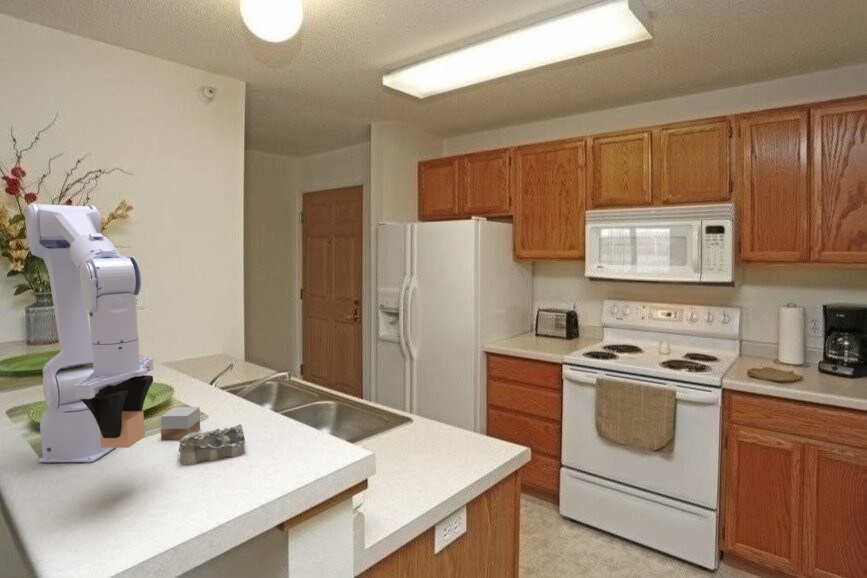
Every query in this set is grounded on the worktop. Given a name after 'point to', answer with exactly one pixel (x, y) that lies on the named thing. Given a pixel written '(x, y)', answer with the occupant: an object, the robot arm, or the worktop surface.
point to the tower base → (179, 432)
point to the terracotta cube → (127, 431)
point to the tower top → (180, 418)
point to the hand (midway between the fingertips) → (121, 430)
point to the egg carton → (211, 445)
